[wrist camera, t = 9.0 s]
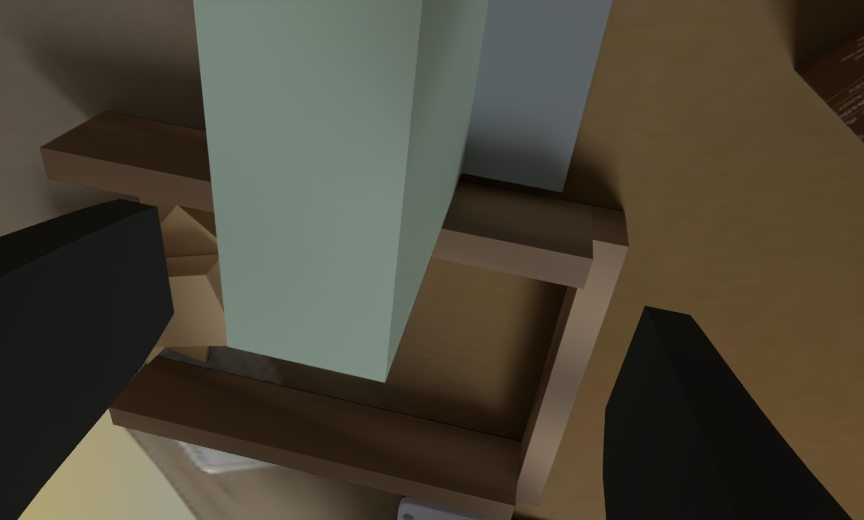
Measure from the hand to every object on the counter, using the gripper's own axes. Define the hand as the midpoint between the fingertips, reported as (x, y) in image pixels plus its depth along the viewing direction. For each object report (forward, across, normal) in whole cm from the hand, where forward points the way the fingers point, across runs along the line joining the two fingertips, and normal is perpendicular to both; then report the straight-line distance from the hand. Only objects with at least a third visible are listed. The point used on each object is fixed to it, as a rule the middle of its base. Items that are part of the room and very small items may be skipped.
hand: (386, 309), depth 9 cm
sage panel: (+10, +2, -2) cm, 10 cm away
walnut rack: (+10, +4, +9) cm, 14 cm away
